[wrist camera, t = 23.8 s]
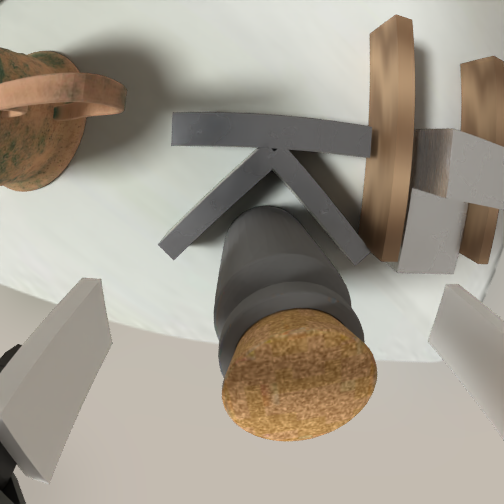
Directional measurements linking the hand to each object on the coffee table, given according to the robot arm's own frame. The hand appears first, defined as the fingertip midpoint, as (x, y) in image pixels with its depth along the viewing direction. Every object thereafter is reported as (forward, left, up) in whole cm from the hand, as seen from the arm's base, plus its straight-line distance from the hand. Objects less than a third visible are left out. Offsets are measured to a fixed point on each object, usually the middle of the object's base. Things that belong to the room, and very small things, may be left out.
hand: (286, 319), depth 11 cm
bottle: (+1, 0, -12) cm, 12 cm away
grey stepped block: (-3, +12, -12) cm, 18 cm away
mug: (-9, -16, -12) cm, 22 cm away
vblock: (-3, 0, -12) cm, 13 cm away
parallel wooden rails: (-8, +12, -12) cm, 19 cm away
